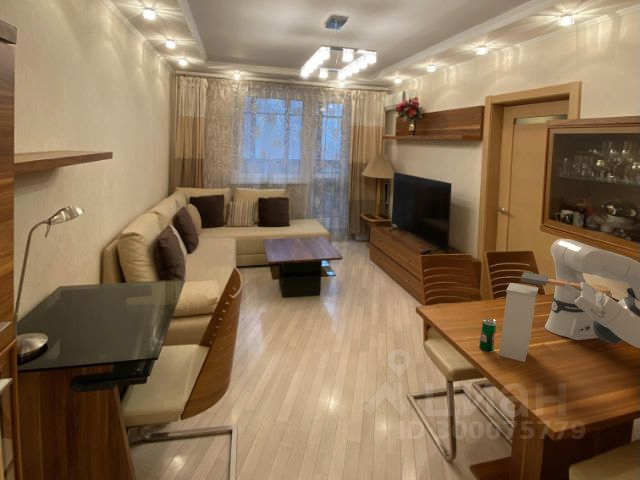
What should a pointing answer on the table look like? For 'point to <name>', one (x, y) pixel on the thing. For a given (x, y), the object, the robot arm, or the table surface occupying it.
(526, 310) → the tall grey box
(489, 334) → the soda can
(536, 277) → the toy hammer
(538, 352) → the table surface
